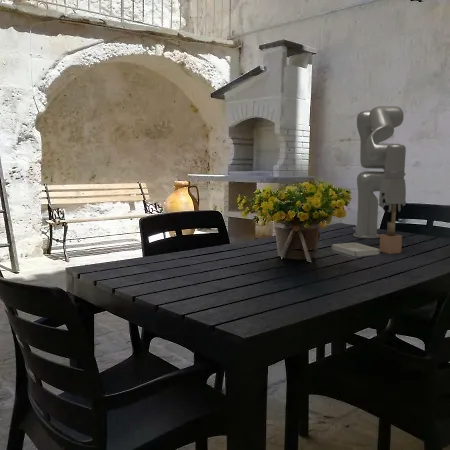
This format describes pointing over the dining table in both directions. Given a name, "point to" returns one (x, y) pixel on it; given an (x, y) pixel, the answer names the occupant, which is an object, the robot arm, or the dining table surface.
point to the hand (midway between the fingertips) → (391, 220)
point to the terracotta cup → (390, 243)
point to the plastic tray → (354, 249)
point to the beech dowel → (392, 222)
